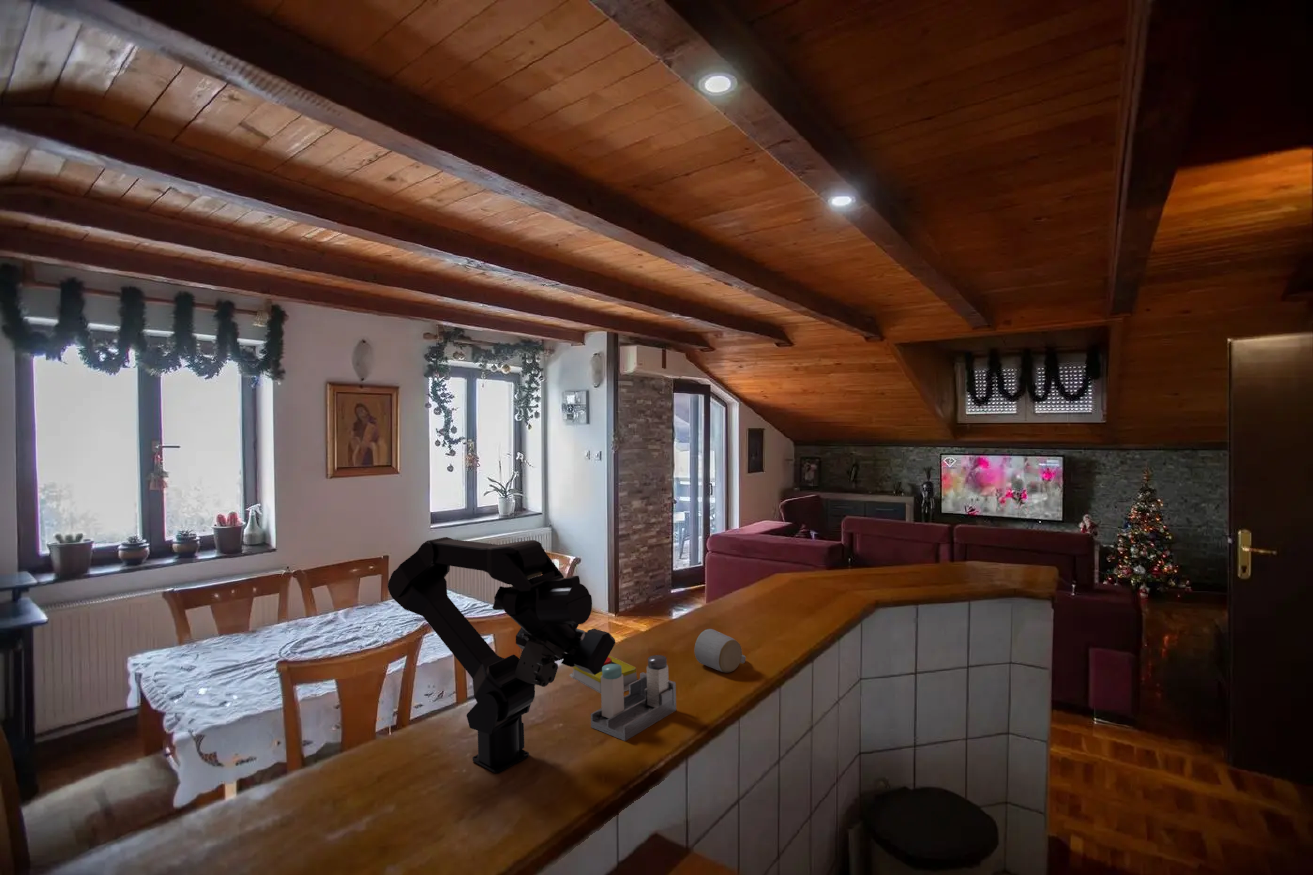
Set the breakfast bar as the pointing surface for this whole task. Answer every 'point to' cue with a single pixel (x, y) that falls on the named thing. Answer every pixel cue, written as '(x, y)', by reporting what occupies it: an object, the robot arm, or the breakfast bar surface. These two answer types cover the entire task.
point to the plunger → (612, 690)
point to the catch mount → (641, 702)
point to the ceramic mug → (718, 651)
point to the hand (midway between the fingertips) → (589, 667)
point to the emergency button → (595, 680)
